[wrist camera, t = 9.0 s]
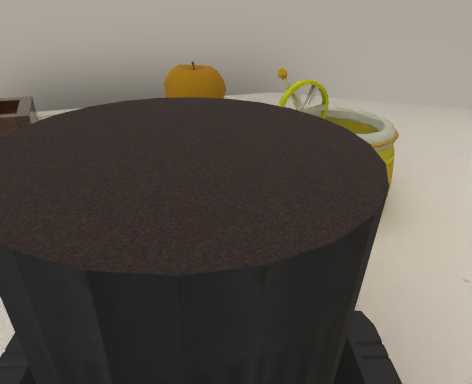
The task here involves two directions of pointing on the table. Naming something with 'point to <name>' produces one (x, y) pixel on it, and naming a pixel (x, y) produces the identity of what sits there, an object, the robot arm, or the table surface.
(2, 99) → the frame
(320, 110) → the mug
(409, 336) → the table surface
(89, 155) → the deodorant
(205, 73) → the apple
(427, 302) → the table surface
